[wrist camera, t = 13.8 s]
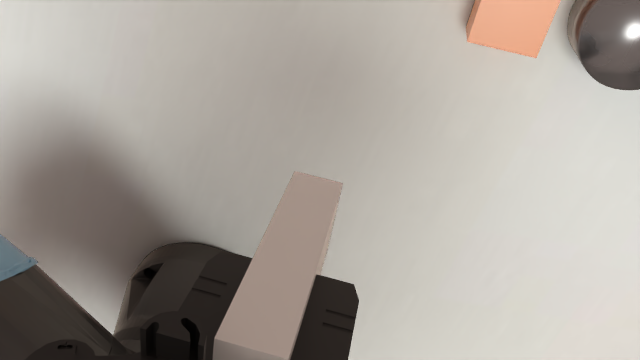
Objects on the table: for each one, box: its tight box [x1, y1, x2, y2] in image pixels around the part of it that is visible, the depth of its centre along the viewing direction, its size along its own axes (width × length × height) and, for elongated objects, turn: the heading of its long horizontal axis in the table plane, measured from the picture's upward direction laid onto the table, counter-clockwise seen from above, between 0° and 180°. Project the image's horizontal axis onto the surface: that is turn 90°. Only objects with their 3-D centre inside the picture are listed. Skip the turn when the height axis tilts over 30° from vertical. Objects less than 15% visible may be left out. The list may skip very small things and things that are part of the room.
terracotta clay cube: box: [466, 0, 561, 58], centre depth 29 cm, size 4×5×3 cm
